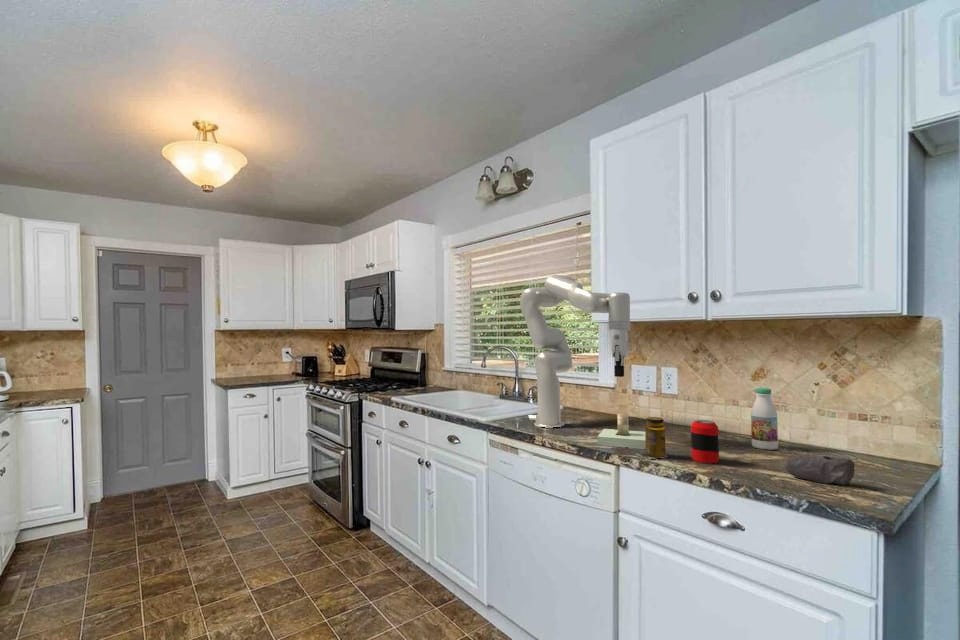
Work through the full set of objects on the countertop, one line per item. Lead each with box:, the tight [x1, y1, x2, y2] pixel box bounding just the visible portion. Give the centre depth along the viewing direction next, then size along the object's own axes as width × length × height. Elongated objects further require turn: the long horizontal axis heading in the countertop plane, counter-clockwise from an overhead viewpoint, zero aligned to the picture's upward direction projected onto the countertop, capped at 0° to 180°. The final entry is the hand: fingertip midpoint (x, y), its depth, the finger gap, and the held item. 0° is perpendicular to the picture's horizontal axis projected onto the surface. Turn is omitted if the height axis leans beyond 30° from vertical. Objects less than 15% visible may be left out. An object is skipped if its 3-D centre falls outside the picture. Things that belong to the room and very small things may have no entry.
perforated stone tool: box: [784, 454, 856, 486], centre depth 124 cm, size 15×5×7 cm, turn 48°
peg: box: [616, 413, 630, 436], centre depth 169 cm, size 4×4×10 cm
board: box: [596, 428, 646, 450], centre depth 169 cm, size 16×14×3 cm
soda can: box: [690, 419, 720, 464], centre depth 145 cm, size 8×8×12 cm
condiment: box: [635, 416, 667, 459], centre depth 151 cm, size 7×8×12 cm
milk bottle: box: [750, 387, 779, 451], centre depth 160 cm, size 8×8×20 cm
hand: (619, 376), depth 172 cm, fingers closed
